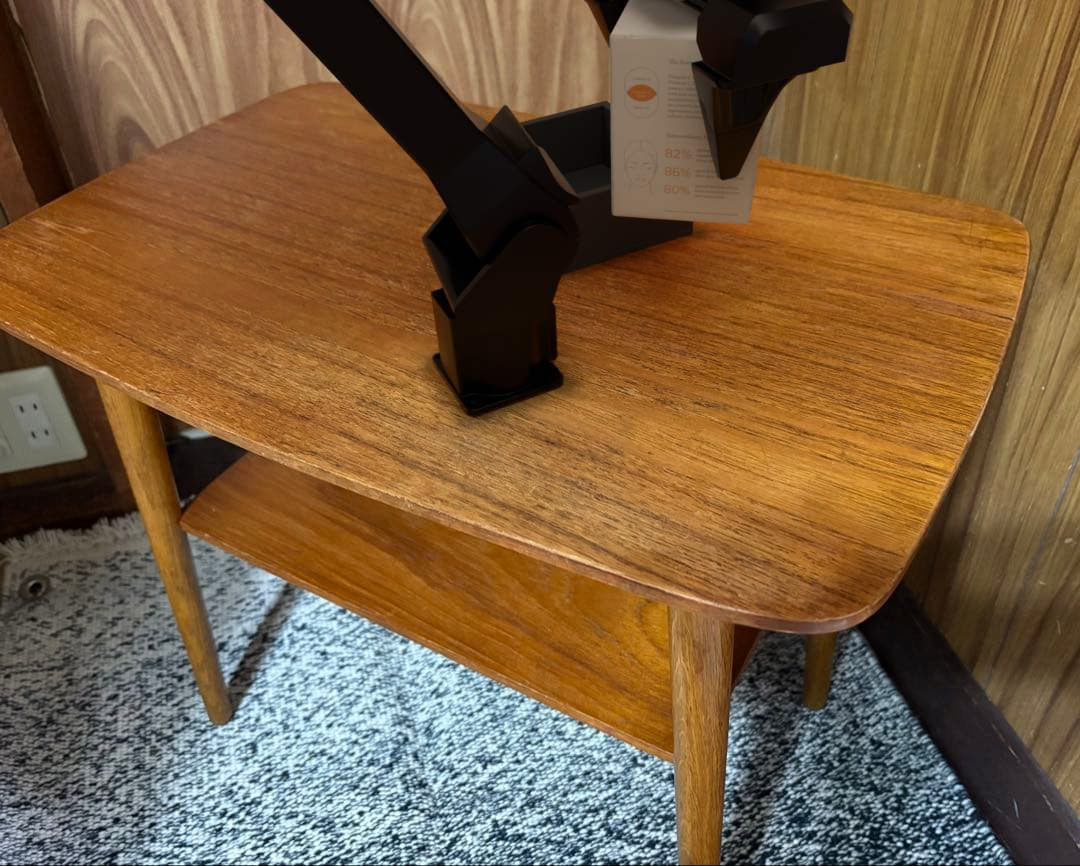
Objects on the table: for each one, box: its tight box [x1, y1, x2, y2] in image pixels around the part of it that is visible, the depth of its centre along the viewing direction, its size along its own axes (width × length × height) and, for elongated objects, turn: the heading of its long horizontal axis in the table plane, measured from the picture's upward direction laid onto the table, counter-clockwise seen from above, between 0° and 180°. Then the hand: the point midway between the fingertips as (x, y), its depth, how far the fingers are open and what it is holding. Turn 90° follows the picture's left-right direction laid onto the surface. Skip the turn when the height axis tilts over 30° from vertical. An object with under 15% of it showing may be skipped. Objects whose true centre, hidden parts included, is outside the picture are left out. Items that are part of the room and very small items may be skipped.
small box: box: [609, 0, 762, 226], centre depth 54 cm, size 8×6×10 cm
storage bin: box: [519, 100, 694, 275], centre depth 75 cm, size 11×13×6 cm
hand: (686, 146), depth 56 cm, fingers closed on small box, 8 cm apart
